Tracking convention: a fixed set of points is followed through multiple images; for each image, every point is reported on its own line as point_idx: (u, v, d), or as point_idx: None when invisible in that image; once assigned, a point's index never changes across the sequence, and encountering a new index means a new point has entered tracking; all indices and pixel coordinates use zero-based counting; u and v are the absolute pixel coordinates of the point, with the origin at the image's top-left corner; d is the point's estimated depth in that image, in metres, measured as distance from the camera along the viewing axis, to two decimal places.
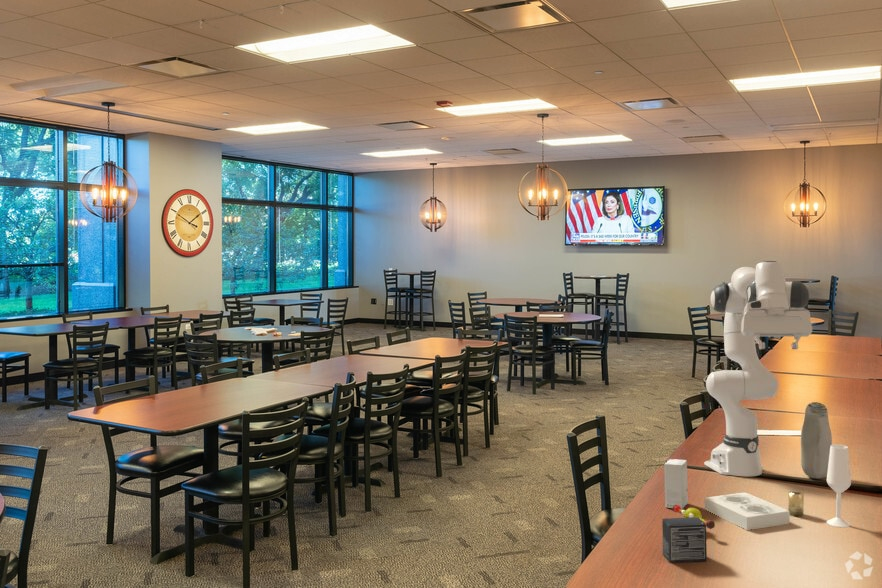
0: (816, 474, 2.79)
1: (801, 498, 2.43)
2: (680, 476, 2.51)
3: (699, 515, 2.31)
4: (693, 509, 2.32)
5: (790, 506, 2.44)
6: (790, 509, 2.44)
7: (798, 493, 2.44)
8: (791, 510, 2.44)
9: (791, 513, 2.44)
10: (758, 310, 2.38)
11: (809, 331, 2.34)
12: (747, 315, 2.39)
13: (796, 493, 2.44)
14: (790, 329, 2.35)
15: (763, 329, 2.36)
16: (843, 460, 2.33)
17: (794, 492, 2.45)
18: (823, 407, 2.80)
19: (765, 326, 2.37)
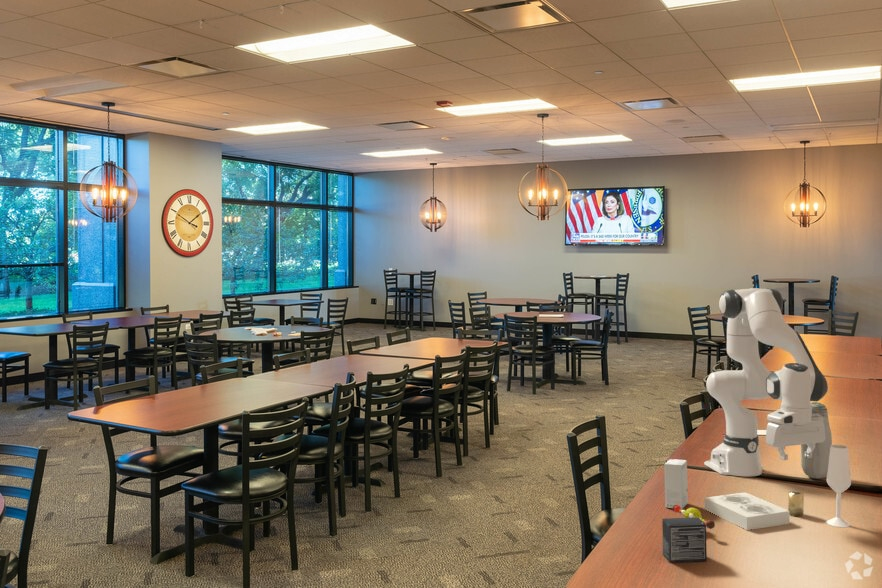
0: (816, 474, 2.79)
1: (801, 498, 2.43)
2: (680, 476, 2.51)
3: (699, 515, 2.31)
4: (693, 509, 2.32)
5: (790, 506, 2.44)
6: (790, 509, 2.44)
7: (798, 493, 2.44)
8: (791, 510, 2.44)
9: (791, 513, 2.44)
10: (788, 424, 2.39)
11: (823, 441, 2.44)
12: (779, 430, 2.38)
13: (796, 493, 2.44)
14: (809, 440, 2.43)
15: (789, 443, 2.40)
16: (843, 460, 2.33)
17: (794, 492, 2.45)
18: (823, 407, 2.80)
19: (791, 439, 2.40)
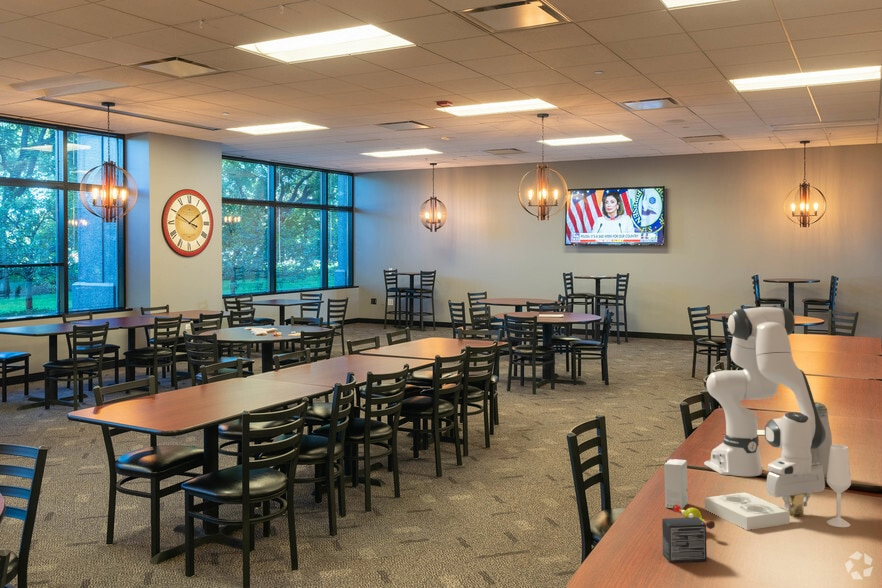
0: None
1: (801, 498, 2.43)
2: (680, 476, 2.51)
3: (699, 515, 2.31)
4: (693, 509, 2.32)
5: None
6: (790, 509, 2.44)
7: None
8: (791, 510, 2.44)
9: (791, 513, 2.44)
10: (789, 475, 2.40)
11: (822, 490, 2.46)
12: (779, 481, 2.39)
13: None
14: (809, 489, 2.44)
15: (789, 493, 2.42)
16: (843, 460, 2.33)
17: None
18: (823, 407, 2.80)
19: (791, 489, 2.42)
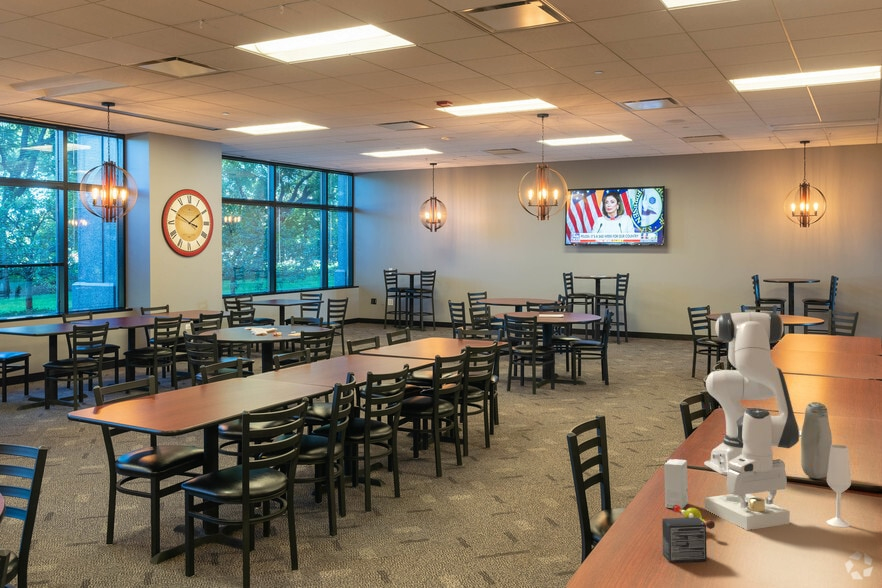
0: (816, 474, 2.79)
1: (762, 505, 2.37)
2: (680, 476, 2.51)
3: (699, 515, 2.31)
4: (693, 509, 2.32)
5: None
6: None
7: (759, 500, 2.38)
8: None
9: None
10: (749, 472, 2.34)
11: (784, 487, 2.40)
12: (739, 479, 2.33)
13: (757, 500, 2.38)
14: (770, 487, 2.38)
15: (749, 491, 2.36)
16: (843, 460, 2.33)
17: (755, 499, 2.39)
18: (823, 407, 2.80)
19: (751, 487, 2.36)
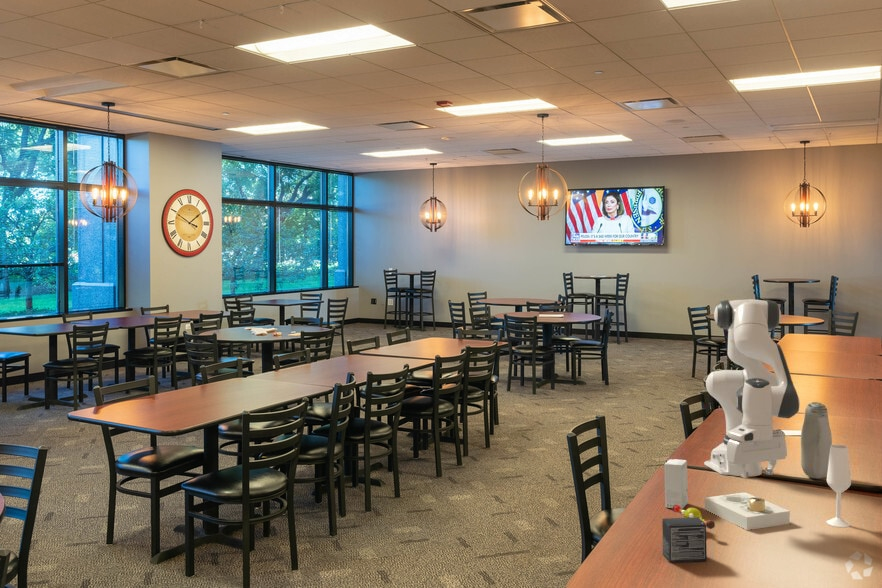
0: (816, 474, 2.79)
1: (762, 505, 2.37)
2: (680, 476, 2.51)
3: (699, 515, 2.31)
4: (693, 509, 2.32)
5: None
6: None
7: (759, 500, 2.38)
8: None
9: None
10: (749, 442, 2.34)
11: (784, 458, 2.39)
12: (739, 448, 2.33)
13: (757, 500, 2.38)
14: (771, 457, 2.38)
15: (749, 461, 2.35)
16: (843, 460, 2.33)
17: (755, 499, 2.39)
18: (823, 407, 2.80)
19: (751, 457, 2.35)
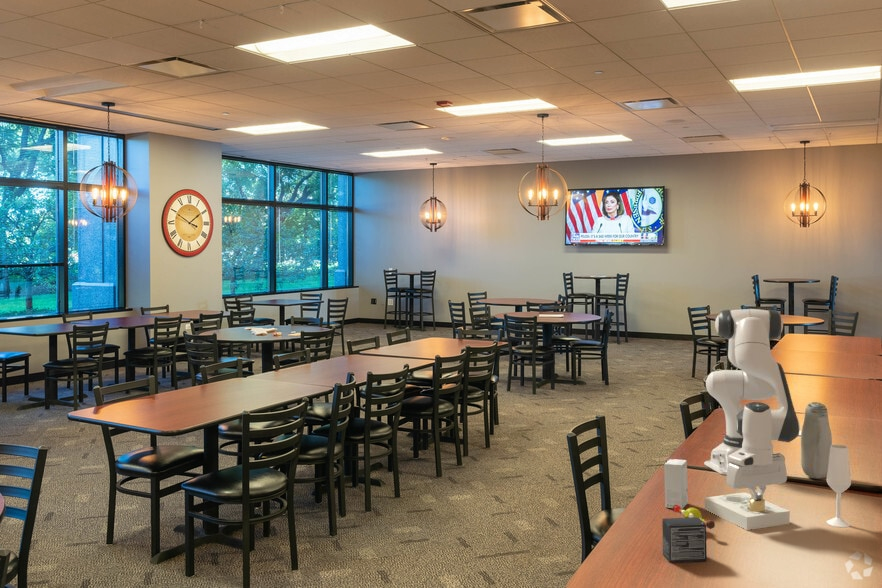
0: (816, 474, 2.79)
1: (762, 505, 2.37)
2: (680, 476, 2.51)
3: (699, 515, 2.31)
4: (693, 509, 2.32)
5: None
6: None
7: (759, 500, 2.38)
8: None
9: None
10: (749, 466, 2.34)
11: (784, 481, 2.40)
12: (739, 472, 2.33)
13: (757, 500, 2.38)
14: (771, 481, 2.38)
15: (749, 485, 2.35)
16: (843, 460, 2.33)
17: None
18: (823, 407, 2.80)
19: (751, 481, 2.36)
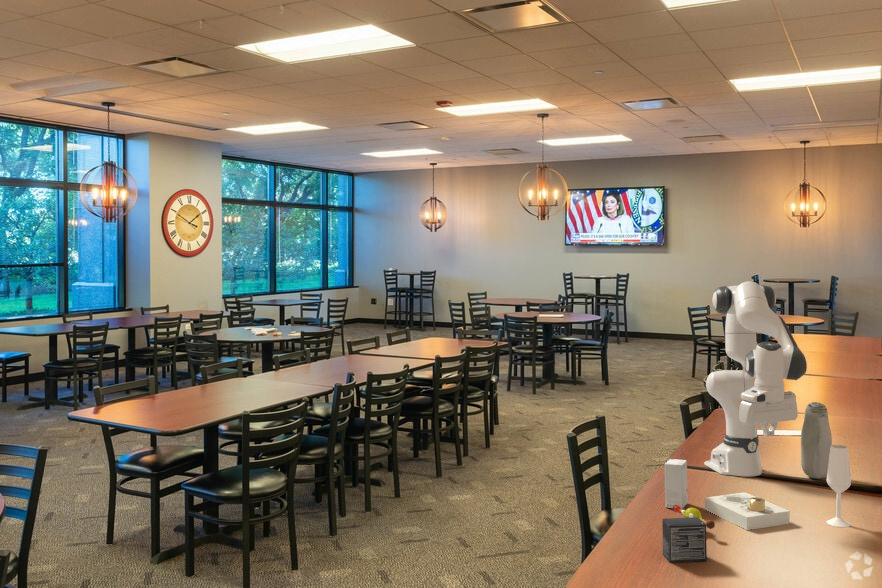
0: (816, 474, 2.79)
1: (762, 505, 2.37)
2: (680, 476, 2.51)
3: (699, 515, 2.31)
4: (693, 509, 2.32)
5: None
6: None
7: (759, 500, 2.38)
8: None
9: None
10: (761, 403, 2.41)
11: (795, 418, 2.47)
12: (751, 409, 2.41)
13: (757, 500, 2.38)
14: (782, 418, 2.45)
15: (761, 421, 2.43)
16: (843, 460, 2.33)
17: (755, 499, 2.39)
18: (823, 407, 2.80)
19: (763, 417, 2.43)
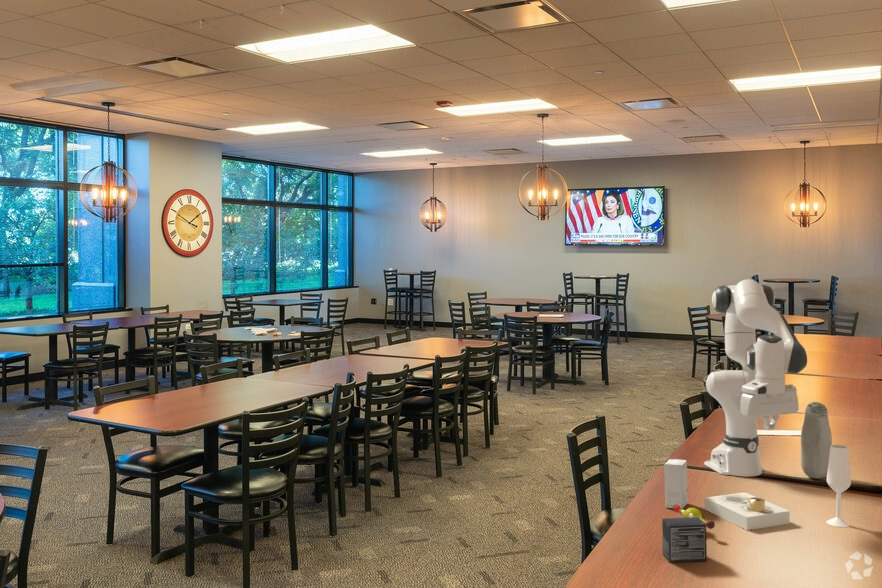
0: (816, 474, 2.79)
1: (762, 505, 2.37)
2: (680, 476, 2.51)
3: (699, 515, 2.31)
4: (693, 509, 2.32)
5: None
6: None
7: (759, 500, 2.38)
8: None
9: None
10: (762, 395, 2.42)
11: (796, 412, 2.47)
12: (753, 401, 2.41)
13: (757, 500, 2.38)
14: (783, 411, 2.46)
15: (762, 414, 2.43)
16: (843, 460, 2.33)
17: (755, 499, 2.39)
18: (823, 407, 2.80)
19: (764, 410, 2.43)
